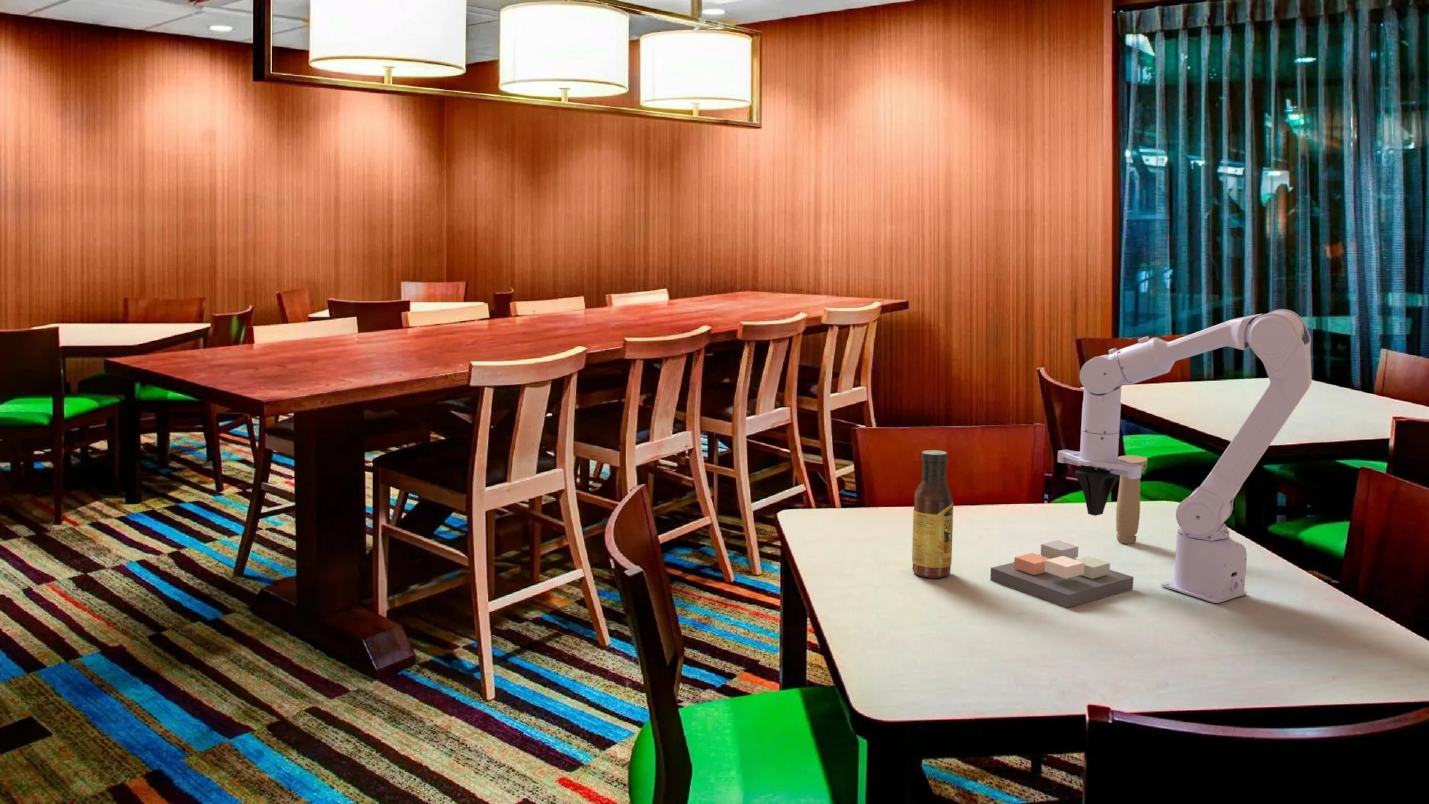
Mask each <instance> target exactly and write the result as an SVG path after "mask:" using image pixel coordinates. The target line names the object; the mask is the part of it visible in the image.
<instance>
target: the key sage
mask: <svg viewBox="0 0 1429 804" xmlns="http://www.w3.org/2000/svg"><path fill="white" fill-rule="evenodd" d="M1075 559H1076V560H1078V561H1081V562H1084V563H1085V564H1084V574H1083V575H1082V576H1085V577H1088V578H1091V579H1094V578H1097V577H1101V576H1105V575H1109V571H1110V570H1111V569H1110V567H1111V562H1108V561H1104V560H1102V559H1099V558H1095V557H1091V556H1085V557H1080V558H1075Z"/></svg>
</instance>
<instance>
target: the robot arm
mask: <svg viewBox="0 0 1429 804" xmlns="http://www.w3.org/2000/svg"><path fill="white" fill-rule="evenodd" d="M1137 341H1138V343H1137V342H1136V343H1135V344H1132V345H1129V346H1126V347H1123V348H1120V349H1117V347H1114V348H1111V349H1109V350H1108V354H1103V355H1100V356H1094V357H1092V358H1091V359H1089V360H1087V361H1086V362H1085V363H1084V364H1083V365H1082V367H1081V369H1080V371H1079V381H1080V383H1081V385H1082V386H1083V400H1082V405H1081V406H1082V408H1081V427H1080V444H1079V445H1080V446H1079V447H1080V448H1079V451H1075V450H1070V449H1062V450H1058V451H1057V463H1060V464H1068V465H1069V464H1070V465H1074V466H1078V467H1080V468H1079V470H1078V469H1077V470H1075V472H1074V476H1075V478H1076V480H1077V481H1078V483H1079V485H1080V488H1081V491H1082V493H1083V496H1084V497H1083V498H1084V500H1085V505H1086V509H1087V514H1088V515H1091V516H1093V517H1094V516H1101V515H1103V514H1104V511H1105V507H1106V504H1107V502H1108V498H1109V496H1110V494H1111V492H1112V490H1113V488H1114V487H1115V485H1116V483H1118V481H1119V480H1120V475H1121V476H1126V477H1128V478H1129V479H1137V478H1140V479H1141V478H1142V471H1141V470H1142V466H1140V465H1136V464H1133V463H1130V462H1127V461H1125V460H1122V459H1119V458H1118V457H1119V444H1120V443H1119V441H1120V440H1119V439H1120V427H1121V426H1120V425H1121V423H1120V422H1121V410H1122V408H1121V407H1122V403H1121V398H1122V397H1121V396H1122V388H1121V387H1123V386H1124V385H1126V386H1131V385H1135V384H1137V383H1140V382H1143V381H1144V382H1145V381H1146V380H1150V379H1152V378H1156V377H1159V376H1162V375H1166V374H1168V373H1170V371H1171V369H1172V367H1174V364H1175V362H1177V361H1179V360H1184V359H1188V358H1191V357H1193V356H1198V355H1200V354H1204V353H1208V352H1211V351H1214V350H1217V349H1220V348H1224V347H1229V348H1233V349H1237V350H1242V351H1246V350H1248V349H1249V348H1251V351H1252V352H1253V353H1254V354H1255V355H1256V357H1258V359H1260V361H1261V362H1262V364H1263V366H1264V369H1265V371H1266V374H1267V377H1268V379H1269V380H1268V381H1269V384H1268V387H1267V388H1266V390H1265V391H1264V392H1263V394H1262V395H1261V397H1260V398H1259V400H1258V401H1257V403H1256V404H1255V406H1254V407H1253V408H1252V410H1251V412H1250V413H1249V415H1248V416H1247V417H1246V419H1245V420H1244V422H1243V423H1242V425H1241V427H1240V428H1239V429H1238V431H1237V433H1236V434H1235V435H1234V437H1233V438H1232V440H1230V441H1231V442H1230V443H1229V444H1228V446H1227V447H1226V449H1225V450H1224V452H1223V453H1222V455H1221V456H1220V457H1219V459H1218V460H1217V462H1216V463H1215V465H1214V466H1213V468H1212V470H1211V471H1210V472H1209V474H1208V475H1207V477H1206V478H1205V479H1204V480H1203V481H1202V483H1201V484H1200V486H1198V487H1197V488H1195V489H1194V490H1193V491H1192V492H1191V494H1190V495H1189V496H1187V497H1186V498H1184V499H1183V500H1182V501H1180V503H1179V504H1178V506H1177V507H1176V511H1175V518H1176V523H1177V524H1178V526H1177V531H1176V532H1177V533H1176V543H1175V544H1176V547H1175V559H1174V560H1175V561H1174V574H1173V579H1170V580H1168V581H1163V582H1161V583H1160V585H1161V587H1163V588H1166V589H1170V590H1173V591H1176V592H1178V593H1183V594H1185V595H1188V596H1190V597H1194V598H1198V599H1200V600H1205V601H1207V602H1209V603H1214V604H1220V603H1223V602H1225V601H1228V600H1232V599H1235V598H1238V597H1241V596H1245V595H1247V594H1248V590H1245V585H1246V572H1247V559H1248V555H1247V554H1248V553H1247V550H1246V547H1245V546H1244V544H1243V543H1240V542H1238V541H1235V540H1233V539H1232V537H1231V536H1230V530H1229V529H1228V527H1227V524H1226V523H1225V522H1226V521H1227V520H1228V519H1229V518H1230V517H1231V515H1232V513H1233V509H1234V508H1233V507H1234V500H1235V498H1236V496H1237V495H1238V493H1239V491H1240V490H1241V488H1242V487H1243V484H1244V482H1245V481H1246V480H1247V478H1248V477H1249V476H1250V474H1251V473H1252V471H1253V470H1254V468H1255V467H1256V465H1257V464H1258V462H1260V459H1262V457H1263V455H1264V454H1265V452H1266V451H1267V449H1268V448H1269V446H1271V444H1272V443H1273V441H1274V439H1275V438H1276V437H1277V435H1278V433H1279V432H1280V431H1281V430H1282V428H1283V426H1284V425H1285V423H1286V422H1287V421H1288V419H1289V418H1290V416H1291V415H1292V414H1293V412H1294V410H1295V409H1296V407H1298V405H1299V403H1300V402H1301V400H1302V399H1303V398H1304V396H1305V395H1306V393H1307V392H1308V391H1309V389H1310V387H1311V385H1312V378H1313V377H1312V357H1311V354H1312V353H1311V343H1312V336H1311V335H1310V332H1309V330H1308V328H1307V326H1306V323H1305V322H1304V320H1303V319H1302V317H1301V316H1300V315H1299V314H1298V313H1296V312H1295V311H1292V310H1290V309H1286V308H1285V309H1283V308H1280V309H1275V310H1272V311H1270V312H1268V313H1259V314H1252V315H1246V316H1243V317H1237V318H1233V319H1229V320H1226V321H1224V322H1221V323H1218V324H1216V325H1213V326H1209V327H1206V328H1204V329H1202V330H1199V331H1196V332H1194V333H1191V334H1188V335H1184V336H1183V337H1179V338H1176V339H1174V340H1171V341H1166V340H1164V339H1161V338H1160V337H1157V336H1155V337H1152V338H1149V336H1148V335H1147V336H1144V337H1141V338H1138V339H1137Z"/></svg>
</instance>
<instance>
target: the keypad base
mask: <svg viewBox="0 0 1429 804" xmlns="http://www.w3.org/2000/svg"><path fill="white" fill-rule="evenodd" d="M1043 557H1045V556H1043ZM1046 558H1048V557H1046ZM1049 559H1051V558H1049ZM1073 559H1075V560H1076V559H1077V558H1073ZM989 580H990V581H992V582H995V583H997V584H999V585H1003V586H1006V587H1008V588H1011V589H1013V590H1016V591H1020V592H1022V593H1026V594H1028V595H1029V596H1033V597H1036V598H1039V599H1042V600H1044V601H1046V602H1050V603H1051V604H1052V603H1053V604H1055V605H1058V606H1061V607H1063V608H1066V609H1069V608H1072V607H1076V606H1080V605H1083V604H1087V603H1090V602H1093V601H1097V600H1101V599H1104V598H1108V597H1111V596H1114V595H1118V594H1123V593H1125V592H1129V591H1133V590H1134V576H1132V575H1128V574H1125V573H1122V572H1119V571H1115V570H1113V569H1110V571H1109V575H1105V576H1101V577H1097V578H1094V579H1091V578H1088V577H1085V576H1082V575H1079V576H1075V577H1071V578H1067V579H1065V578H1062V577H1059V576H1056V575H1053V574H1051V573H1048V572H1044V573H1040V574H1036V575H1033V574H1030V573H1027V572H1024V571H1021V570H1018V569H1015V568H1014V561H1013V562H1008V563H1006V564H1002V565H997V566H991V567H990V578H989Z"/></svg>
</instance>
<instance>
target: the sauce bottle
mask: <svg viewBox="0 0 1429 804" xmlns="http://www.w3.org/2000/svg"><path fill="white" fill-rule="evenodd" d="M920 460H921V463H922V471H921V472H922V473H921V479H922V480H921V481H920V483H919V485H918V486H916V487H917V488H916V489H915V491H914V496H913V500H914V501H913V502H914V503H913V504H914V505H913V511H912V547H911V548H912V550H911V552H912V554H911V562H912V572H913V574H915V575H917V576H919V577H923V578H930V579H932V578H933V579H939V578H944V577H947V576H949V575H950V574H951V566H952V557H953V556H952V555H953V529H954V527H953V526H954V525H953V524H954V523H953V521H954V519H953V518H954V500H953V497H952V493H951V490H950V487H949V484H948V481H947V463H948V452H947V451H944V450H937V449H931V450H923V451H922V452H921V459H920Z"/></svg>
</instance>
